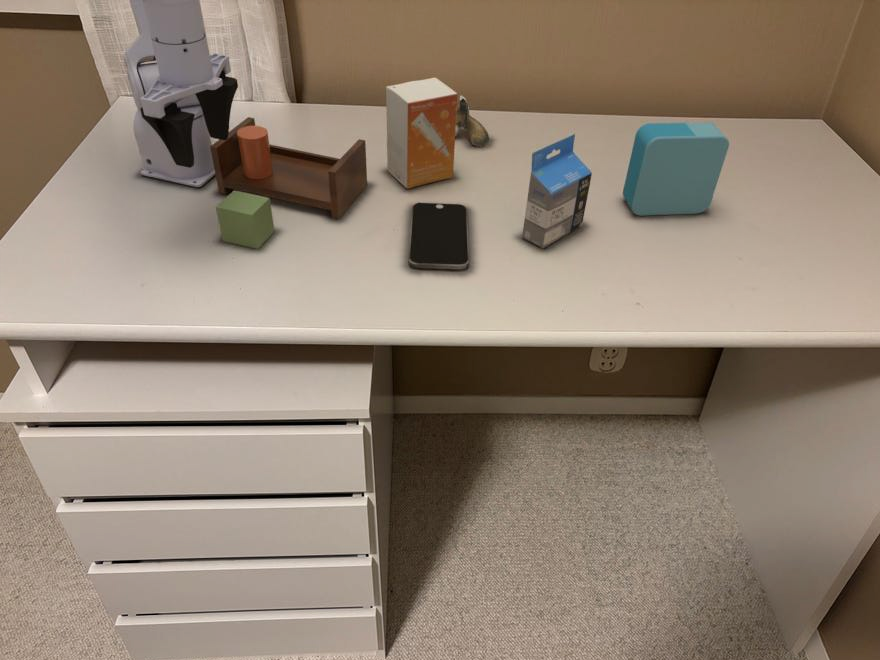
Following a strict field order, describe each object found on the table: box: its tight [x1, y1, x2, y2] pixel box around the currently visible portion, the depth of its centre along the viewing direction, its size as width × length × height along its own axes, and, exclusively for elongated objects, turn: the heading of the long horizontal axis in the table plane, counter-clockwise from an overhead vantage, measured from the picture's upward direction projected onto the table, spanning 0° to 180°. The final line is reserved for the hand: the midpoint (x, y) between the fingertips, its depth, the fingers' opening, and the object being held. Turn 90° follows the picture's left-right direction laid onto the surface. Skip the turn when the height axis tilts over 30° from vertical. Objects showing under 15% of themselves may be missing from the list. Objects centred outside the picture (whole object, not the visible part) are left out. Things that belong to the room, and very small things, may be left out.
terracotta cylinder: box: [237, 125, 273, 180], centre depth 99 cm, size 4×4×6 cm
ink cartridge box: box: [521, 133, 593, 249], centre depth 95 cm, size 9×4×12 cm, turn 137°
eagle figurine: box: [455, 95, 490, 148], centre depth 117 cm, size 8×7×9 cm
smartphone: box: [408, 202, 470, 270], centre depth 96 cm, size 8×1×15 cm
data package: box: [622, 122, 730, 217], centre depth 102 cm, size 12×4×12 cm, turn 100°
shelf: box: [210, 116, 368, 220], centre depth 101 cm, size 10×18×7 cm, turn 74°
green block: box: [215, 189, 275, 250], centre depth 92 cm, size 5×4×5 cm
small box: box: [385, 77, 458, 190], centre depth 104 cm, size 8×6×13 cm
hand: (202, 151), depth 88 cm, fingers open, 7 cm apart
